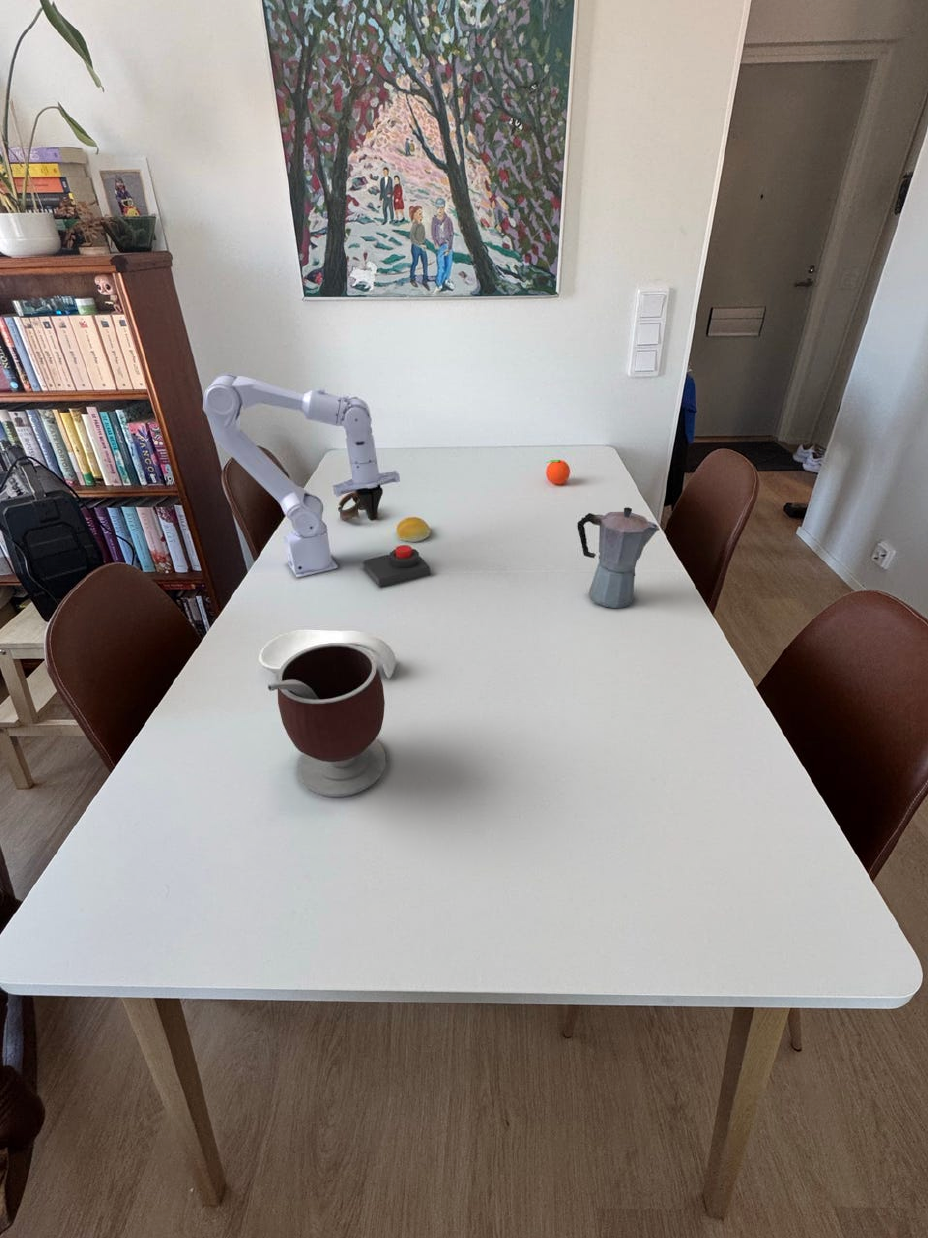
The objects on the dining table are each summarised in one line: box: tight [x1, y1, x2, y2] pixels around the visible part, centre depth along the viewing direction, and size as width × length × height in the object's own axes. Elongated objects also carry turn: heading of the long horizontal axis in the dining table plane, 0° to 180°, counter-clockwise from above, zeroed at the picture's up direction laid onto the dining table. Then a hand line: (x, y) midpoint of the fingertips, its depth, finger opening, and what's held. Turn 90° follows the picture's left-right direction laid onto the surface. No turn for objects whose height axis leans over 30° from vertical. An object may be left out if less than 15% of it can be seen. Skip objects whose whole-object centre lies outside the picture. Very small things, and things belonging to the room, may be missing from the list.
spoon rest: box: [258, 629, 397, 679], centre depth 109 cm, size 24×12×7 cm, turn 83°
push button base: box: [362, 548, 431, 589], centre depth 139 cm, size 12×10×4 cm
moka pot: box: [576, 506, 660, 609], centre depth 124 cm, size 10×15×20 cm, turn 78°
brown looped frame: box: [337, 492, 380, 521], centre depth 165 cm, size 12×10×8 cm
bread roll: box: [395, 516, 432, 543], centre depth 155 cm, size 8×9×4 cm
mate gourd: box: [267, 643, 387, 798], centre depth 85 cm, size 16×14×20 cm
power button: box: [394, 544, 413, 559], centre depth 139 cm, size 4×4×2 cm
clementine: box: [545, 459, 571, 485], centre depth 183 cm, size 8×7×7 cm
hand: (372, 518), depth 140 cm, fingers closed
